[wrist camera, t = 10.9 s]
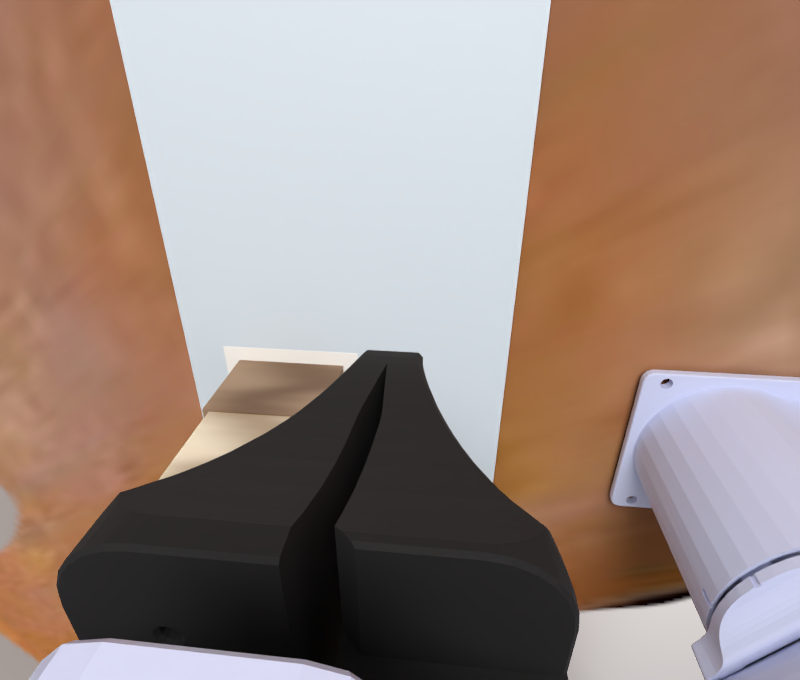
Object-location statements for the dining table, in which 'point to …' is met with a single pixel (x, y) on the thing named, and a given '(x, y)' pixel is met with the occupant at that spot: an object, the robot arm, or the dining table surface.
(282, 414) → the walnut base block
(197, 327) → the pale grey rectangular board
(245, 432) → the birch block
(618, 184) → the dining table surface
